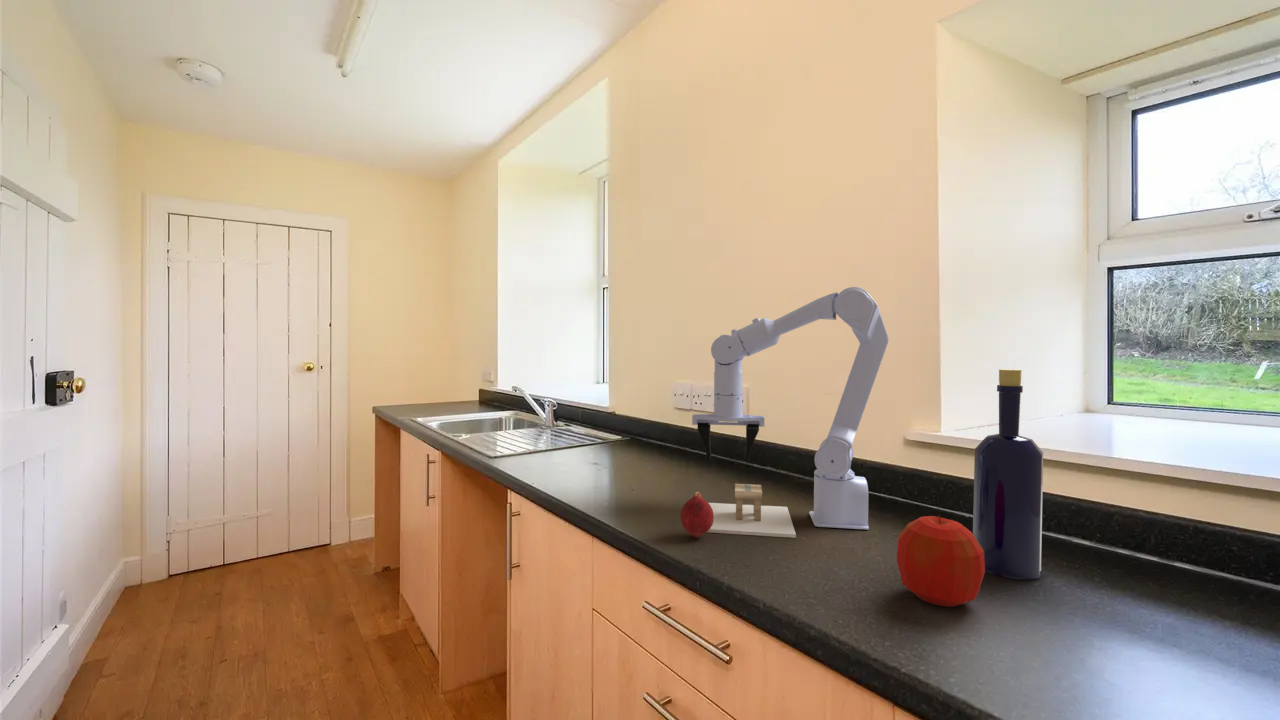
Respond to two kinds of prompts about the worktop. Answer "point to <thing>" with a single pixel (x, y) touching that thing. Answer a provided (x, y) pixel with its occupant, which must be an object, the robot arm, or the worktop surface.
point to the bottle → (1009, 491)
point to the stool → (748, 493)
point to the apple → (940, 561)
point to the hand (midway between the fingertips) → (727, 460)
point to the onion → (697, 516)
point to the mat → (752, 521)
